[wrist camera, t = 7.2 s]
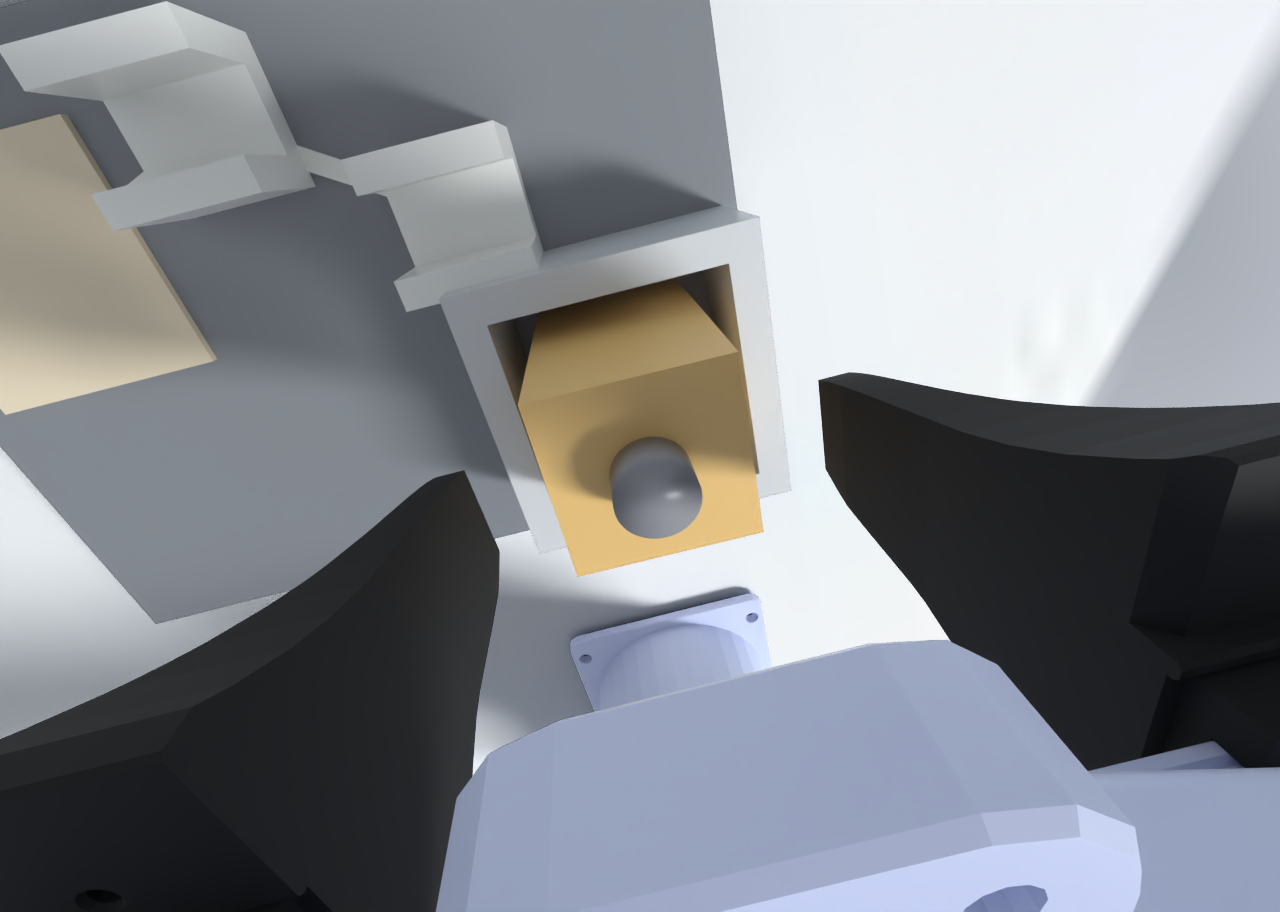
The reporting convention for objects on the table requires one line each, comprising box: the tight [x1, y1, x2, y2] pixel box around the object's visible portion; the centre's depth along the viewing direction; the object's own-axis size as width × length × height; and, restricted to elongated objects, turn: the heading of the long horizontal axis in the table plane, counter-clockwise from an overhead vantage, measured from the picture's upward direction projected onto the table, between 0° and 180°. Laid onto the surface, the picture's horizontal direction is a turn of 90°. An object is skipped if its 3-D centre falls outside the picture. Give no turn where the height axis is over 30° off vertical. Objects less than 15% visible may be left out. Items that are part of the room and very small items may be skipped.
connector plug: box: [518, 278, 763, 577], centre depth 14 cm, size 4×4×8 cm
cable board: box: [0, 0, 791, 624], centre depth 15 cm, size 16×22×4 cm
